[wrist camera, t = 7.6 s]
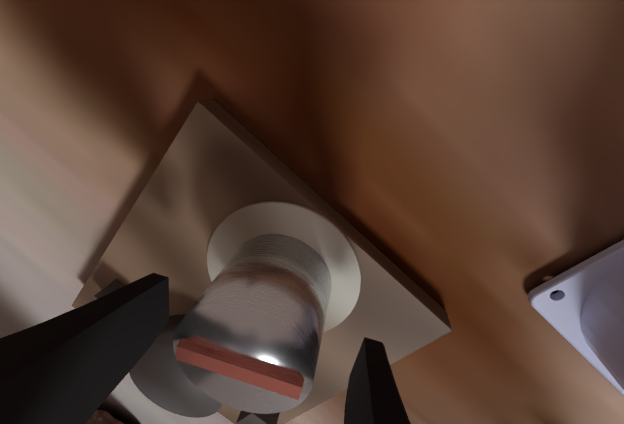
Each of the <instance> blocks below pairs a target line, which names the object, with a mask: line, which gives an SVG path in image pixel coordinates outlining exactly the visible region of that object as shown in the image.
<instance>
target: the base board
mask: <svg viewBox="0 0 624 424" xmlns="http://www.w3.org/2000/svg"><path fill="white" fill-rule="evenodd" d="M264 234H283V235H287V236H291V237H294V238H297V239H299V240H301V241H303V242H304V243H306V244H308V245H309V246H310V247H312V248H313V249H314V250H315V251H316V252H317V253H318V254H319V255H320V256H321V257H322V259H323V260H324V261H325V263H326V265H327V267H328V269H329V271H330V275H331V280H332V290H331V295H330V300H329V305H328V310H327V315H326V320H325V325H324V330H323V335H322V341H321V346H320V351H319V356H318V361H317V366H316V371H315V376H314V381H313V386H312V389H311V391H310V393H309V395H308V396H307V398H306V399H305V400H304V401H303V402H302V403H301V404H299V405H297V406H296V407H294V408H292V409H290V410H287V411H284V412H279V413H271V414H259V413H251V412H246V411H241V410H238V409H235V408H232V407H229V406H227V405H224V404H222V403H220V402H218V401H216V400H215V399H213V398H211V397H209V396H208V395H207V394H205V393H204V392H202V391H201V390H200V389H199V388H197V387H196V386H195V385H194V384H193V383H192V382H191V381H190V380H189V379H188V377H187V376H186V375H185V374H184V372H183V371H182V369H181V368H180V366H179V364H178V362H177V359H176V357H175V353H174V349H173V338H174V333H175V330H176V328H177V326H178V325H179V323H180V322H181V321H182V319H183V318H184V317H185V316H186V314H187V313H188V312H189V311H190V309H191V308H192V307H193V305H194V304H195V303H196V302H197V300H198V299H199V298H200V297H201V295H202V294H203V293H204V292H205V290H206V289H207V288H208V287H209V285H210V284H211V283H212V281H213V280H214V279H215V278H216V276H217V275H218V274H219V273H220V271H221V270H222V269H223V268H224V266H225V265H226V264H227V263H228V261H229V260H230V259H231V258H232V256H233V255H234V254H235V252H236V251H237V250H238V249H239V248H240V246H241V245H242V244H244V243H245V242H246V241H248V240H249V239H251V238H253V237H256V236H259V235H264ZM151 273H156V274H159V275H163V276H166V277H169V318H170V319H169V320H168V322H167V323H166V325H165V326H164V328H163V329H162V331H161V332H160V334H159V335H158V337H157V338H156V340H155V341H154V343H153V344H152V345H151V346H150V348H149V349H148V350H147V351H146V352H145V354H144V355H143V356H142V357H141V358H140V360H139V361H138V362H137V363H136V364H135V365H134V367H133V368H132V369H131V370H130V371H129V373H130V376H131V378H132V380H133V382H134V384H135V385H136V386H137V388H138V389H139V390H140V391H141V392H142V393H143V394H144V395H145V396H146V397H147V398H148V399H150V400H151V401H152V402H154V403H155V404H157V405H158V406H160V407H162V408H163V409H165V410H168V411H170V412H172V413H175V414H178V415H182V416H186V417H206V416H209V415H212V414H214V413H216V412H217V411H218V412H219V413H220V414H222V415H223V416H224V417H226V418H227V419H229V420H230V421H231V422H233V423H234V424H284V423H286V422H288V421H290V420H291V419H293V418H295V417H297V416H299V415H300V414H302V413H304V412H306V411H308V410H309V409H311V408H313V407H315V406H317V405H318V404H320V403H322V402H324V401H326V400H328V399H329V398H331V397H333V396H335V395H337V394H338V393H340V392H342V391H344V390H346V389H347V388H348V382H349V376H350V373H351V371H352V368H353V365H354V363H355V360H356V358H357V355H358V352H359V350H360V347H361V345H362V342H363V340H364V337H366V338H370V339H373V340H376V341H380V342H382V343H383V344H384V346H385V350H386V354H387V357H388V361H389V364H390V365H391V364H393V363H394V362H396V361H398V360H400V359H402V358H403V357H405V356H407V355H409V354H411V353H412V352H414V351H416V350H418V349H420V348H421V347H423V346H425V345H427V344H429V343H431V342H432V341H434V340H436V339H438V338H440V337H441V336H443V335H445V334H447V333H449V332H450V331H452V329H451V325H450V322H449V319H448V316H447V312H446V311H445V310H444V309H443V308H442V307H441V306H440V305H439V304H438V303H437V302H435V301H434V300H433V299H432V298H431V297H430V296H429V295H428V294H427V293H426V292H424V291H423V290H422V289H421V288H420V287H419V286H418V285H417V284H416V283H415V282H414V281H412V280H411V279H410V278H409V277H408V276H407V275H406V274H405V273H404V272H403V271H401V270H400V269H399V268H398V267H397V266H396V265H395V264H394V263H393V262H392V261H390V260H389V259H388V258H387V257H386V256H385V255H384V254H383V253H382V252H381V251H379V250H378V249H377V248H376V247H375V246H374V245H373V244H372V243H371V242H370V241H369V240H367V239H366V238H365V237H364V236H363V235H362V234H361V233H360V232H359V231H358V230H356V229H355V228H354V227H353V226H352V225H351V224H350V223H349V222H348V221H347V220H345V219H344V218H343V217H342V216H341V215H340V214H339V213H338V212H337V211H336V210H335V209H333V208H332V207H331V206H330V205H329V204H328V203H327V202H326V201H325V200H324V199H322V198H321V197H320V196H319V195H318V194H317V193H316V192H315V191H314V190H313V189H311V188H310V187H309V186H308V185H307V184H306V183H305V182H304V181H303V180H302V179H300V178H299V177H298V176H297V175H296V174H295V173H294V172H293V171H292V170H291V169H290V168H288V167H287V166H286V165H285V164H284V163H283V162H282V161H281V160H280V159H279V158H277V157H276V156H275V155H274V154H273V153H272V152H271V151H270V150H269V149H268V148H266V147H265V146H264V145H263V144H262V143H261V142H260V141H259V140H258V139H257V138H255V137H254V136H253V135H252V134H251V133H250V132H249V131H248V130H247V129H246V128H245V127H243V126H242V125H241V124H240V123H239V122H238V121H237V120H236V119H235V118H234V117H232V116H231V115H230V114H229V113H228V112H227V111H226V110H225V109H224V108H223V107H221V106H220V105H219V104H218V103H217V102H216V101H215V100H214V99H212V100H204V101H198V102H197V103H196V105H195V107H194V108H193V110H192V111H191V113H190V115H189V116H188V118H187V120H186V121H185V123H184V124H183V126H182V128H181V129H180V131H179V132H178V134H177V136H176V137H175V139H174V141H173V142H172V144H171V145H170V147H169V149H168V150H167V152H166V154H165V155H164V157H163V158H162V160H161V162H160V163H159V165H158V166H157V168H156V170H155V171H154V173H153V175H152V176H151V178H150V179H149V181H148V183H147V184H146V186H145V188H144V189H143V191H142V192H141V194H140V196H139V197H138V199H137V200H136V202H135V204H134V205H133V207H132V209H131V210H130V212H129V213H128V215H127V217H126V218H125V220H124V221H123V223H122V225H121V226H120V228H119V230H118V231H117V233H116V234H115V236H114V238H113V239H112V241H111V243H110V244H109V246H108V247H107V249H106V251H105V252H104V254H103V255H102V257H101V259H100V260H99V262H98V264H97V265H96V267H95V268H94V270H93V272H92V273H91V275H90V277H89V278H88V280H87V281H86V283H85V285H84V286H83V288H82V289H81V291H80V293H79V294H78V296H77V298H76V299H75V301H74V302H73V304H72V306H73V307H74V308H78V307H81V306H83V305H85V304H87V303H89V302H92V301H94V300H96V299H98V298H100V297H102V296H105V295H107V294H109V293H111V292H113V291H115V290H117V289H119V288H121V287H124V286H126V285H128V284H130V283H132V282H134V281H136V280H138V279H140V278H143V277H145V276H147V275H149V274H151Z"/></svg>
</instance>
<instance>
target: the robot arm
mask: <svg viewBox="0 0 624 424" xmlns="http://www.w3.org/2000/svg"><path fill="white" fill-rule="evenodd" d="M556 290H559V291H558V292H557V293H555V294H550V293H552V292H553V291H556ZM528 300H529V302H530V303H531V305H532V306H533V308H535V309H536V310H537V311H538V312H539V313H540V314H541V315H542V316H543V317H544V318H545V319H546V320H547V321H548V322H549V323H550V324H551V325H552V326H553V327H554V328H555V329H556V330H557V331H558V332H559V333H560V334H561V335H562V336H563V337H564V338H565V339H566V340H567V341H568V342H569V343H570V344H572V345H573V346H574V347H575V348H576V349H577V350H578V351H579V352H580V353H581V354H582V355H583V356H584V357H585V358H586V359H587V360H588V361H589V362H590V363H591V364H592V365H593V366H594V367H595V368H596V369H597V370H598V371H599V372H600V373H601V374H602V375H603V376H604V377H605V378H606V379H607V380H609V381H610V382H611V383H612V384H613V385H614V386H615V387H616V388H617V389H618V390H619V391H620V392H621V393H622V394H623V395H624V239H623V240H621V241H620V242H618V243H616V244H614V245H612V246H610V247H609V248H607V249H605V250H603V251H601V252H600V253H598V254H596V255H594V256H592V257H590V258H589V259H587V260H585V261H583V262H581V263H579V264H578V265H576V266H574V267H572V268H570V269H569V270H567V271H565V272H563V273H561V274H559V275H558V276H556V277H554V278H552V279H550V280H549V281H547V282H545V283H543V284H541V285H539V286H538V287H536V288H534V289H533V290H531V291H530V292H529V294H528ZM169 319H170V318H169V277H166V276H163V275H159V274H156V273H151V274H149V275H147V276H145V277H143V278H140V279H138V280H136V281H134V282H132V283H130V284H128V285H126V286H124V287H121V288H119V289H117V290H115V291H113V292H111V293H109V294H107V295H105V296H102V297H100V298H98V299H96V300H94V301H92V302H89V303H87V304H85V305H83V306H81V307H78V308H76V309H74V310H71V311H69V312H66V313H64V314H62V315H59V316H57V317H55V318H52V319H50V320H48V321H45V322H43V323H40V324H38V325H35V326H33V327H30V328H28V329H25V330H22V331H20V332H17V333H14V334H11V335H8V336H6V337H3V338H0V424H86V422H87V421H88V420H89V418H90V417H91V416H92V415H93V413H94V412H95V411H96V410H97V409H98V407H99V406H100V405H101V404H102V402H103V401H104V400H105V399H106V398H107V397H108V396H109V394H110V393H111V392H112V391H113V390H114V389H115V387H116V386H117V385H118V384H119V383H120V382H121V380H122V379H123V378H124V377H125V376H126V375H127V374H128V372H129V371H130V370H131V369H132V368H133V367H134V365H135V364H136V363H137V362H138V361H139V360H140V358H141V357H142V356H143V355H144V354H145V352H146V351H147V350H148V349H149V348H150V346H151V345H152V344H153V343H154V341H155V340H156V338H157V337H158V335H159V334H160V332H161V331H162V329H163V328H164V326H165V325H166V323H167V322H168V320H169ZM344 424H410V421H409V419H408V416H407V413H406V411H405V408H404V405H403V403H402V400H401V397H400V395H399V392H398V389H397V386H396V383H395V380H394V377H393V374H392V371H391V367H390V364H389V361H388V357H387V354H386V350H385V346H384V344H383V343H382V342H380V341H376V340H373V339H370V338H366V337H364V340H363V342H362V345H361V347H360V350H359V352H358V355H357V358H356V360H355V363H354V365H353V368H352V371H351V373H350V376H349V382H348V389H347V396H346V403H345V415H344Z"/></svg>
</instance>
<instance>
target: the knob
mask: <svg viewBox="0 0 624 424" xmlns="http://www.w3.org/2000/svg"><path fill="white" fill-rule="evenodd" d="M331 290H332V280H331V275H330V271H329V269H328V267H327V265H326V263H325V261H324V260H323V259H322V257H321V256H320V255H319V254H318V253H317V252H316V251H315V250H314V249H313V248H312V247H310V246H309V245H308V244H306V243H304V242H303V241H301V240H299V239H297V238H294V237H291V236H287V235H283V234H264V235H259V236H256V237H253V238H251V239H249V240H248V241H246V242H245V243H244V244H242V245H241V246H240V248H239V249H238V250H237V251H236V252H235V254H234V255H233V256H232V258H231V259H230V260H229V261H228V263H227V264H226V265H225V266H224V268H223V269H222V270H221V271H220V273H219V274H218V275H217V276H216V278H215V279H214V280H213V281H212V283H211V284H210V285H209V287H208V288H207V289H206V290H205V292H204V293H203V294H202V295H201V297H200V298H199V299H198V300H197V302H196V303H195V304H194V305H193V307H192V308H191V309H190V311H189V312H188V313H187V314H186V316H185V317H184V318H183V319H182V321H181V322H180V323H179V325H178V326H177V328H176V330H175V333H174V338H173V349H174V353H175V357H176V359H177V362H178V364H179V366H180V368H181V369H182V371H183V372H184V374H185V375H186V376H187V377H188V379H189V380H190V381H191V382H192V383H193V384H194V385H195V386H196V387H197V388H199V389H200V390H201V391H202V392H204V393H205V394H207V395H208V396H209V397H211V398H213V399H215V400H216V401H218V402H220V403H222V404H224V405H227V406H229V407H232V408H235V409H238V410H241V411H246V412H251V413H259V414H271V413H279V412H284V411H287V410H290V409H292V408H294V407H296V406H297V405H299V404H301V403H302V402H303V401H304V400H305V399H306V398H307V396H308V395H309V393H310V391H311V389H312V386H313V381H314V376H315V371H316V366H317V361H318V356H319V351H320V346H321V341H322V335H323V330H324V325H325V320H326V315H327V310H328V305H329V300H330V295H331Z"/></svg>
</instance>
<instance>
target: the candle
mask: <svg viewBox="0 0 624 424" xmlns="http://www.w3.org/2000/svg"><path fill="white" fill-rule="evenodd" d="M86 424H124V423H123V422H121V421H119V420H118V419H115V418H114V417H112V416H111V414H110V413H109V412H108V411H105V410H96V411H95V412H94V413H93V415H92V416H91V417H90V418H89V420H88V421H87V422H86Z"/></svg>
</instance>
